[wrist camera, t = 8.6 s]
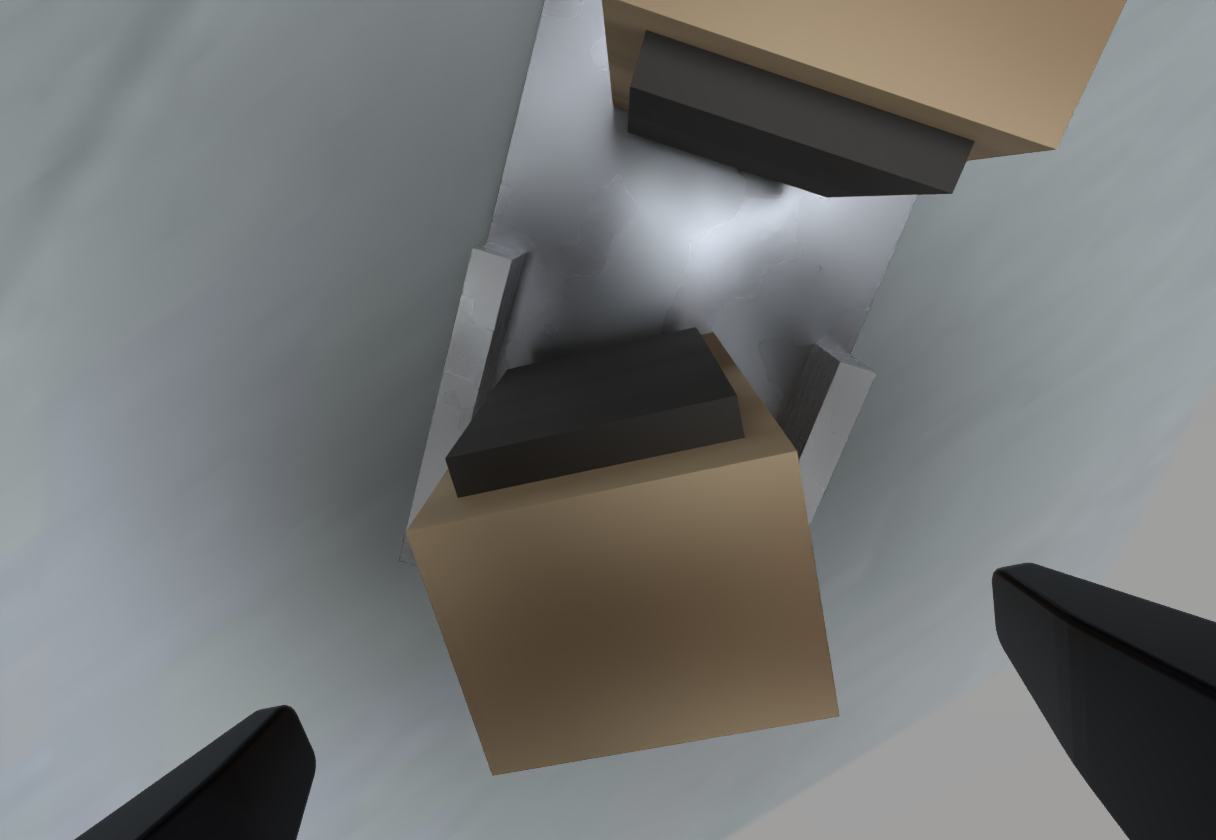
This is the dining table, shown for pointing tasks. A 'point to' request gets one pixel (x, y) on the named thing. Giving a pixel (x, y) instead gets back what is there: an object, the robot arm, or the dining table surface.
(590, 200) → the rail
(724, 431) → the block
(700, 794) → the dining table surface
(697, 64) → the block
